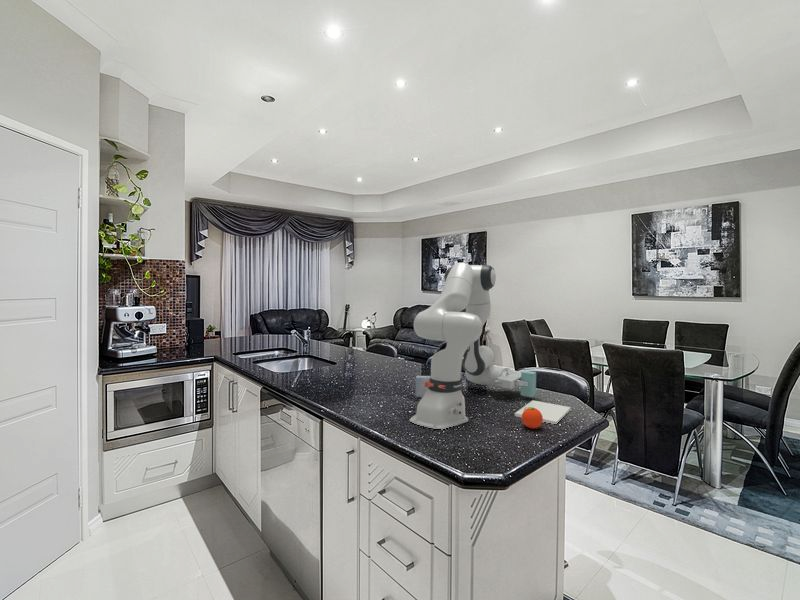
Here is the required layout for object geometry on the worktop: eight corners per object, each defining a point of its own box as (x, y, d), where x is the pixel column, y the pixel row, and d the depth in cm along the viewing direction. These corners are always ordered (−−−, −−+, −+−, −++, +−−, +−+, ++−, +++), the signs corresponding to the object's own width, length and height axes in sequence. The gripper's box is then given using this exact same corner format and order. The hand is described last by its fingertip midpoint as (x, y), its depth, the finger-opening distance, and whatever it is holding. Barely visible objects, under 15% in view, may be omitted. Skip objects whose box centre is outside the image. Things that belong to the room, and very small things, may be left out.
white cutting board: (556, 425, 139) (556, 421, 139) (514, 416, 148) (514, 413, 148) (570, 410, 157) (570, 407, 157) (532, 403, 166) (532, 400, 166)
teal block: (532, 397, 168) (532, 373, 168) (520, 395, 171) (521, 372, 171) (535, 394, 172) (536, 372, 172) (524, 392, 175) (525, 370, 175)
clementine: (515, 424, 139) (515, 404, 138) (530, 422, 141) (531, 402, 141) (531, 432, 131) (531, 411, 131) (547, 430, 134) (547, 409, 134)
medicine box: (433, 395, 174) (434, 376, 174) (433, 398, 170) (434, 378, 169) (415, 394, 175) (416, 375, 174) (415, 397, 170) (415, 377, 170)
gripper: (491, 374, 170) (523, 379, 162) (508, 367, 187) (537, 371, 179) (490, 388, 171) (522, 394, 163) (507, 380, 187) (537, 385, 179)
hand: (530, 382), depth 171 cm, fingers closed on teal block, 5 cm apart
